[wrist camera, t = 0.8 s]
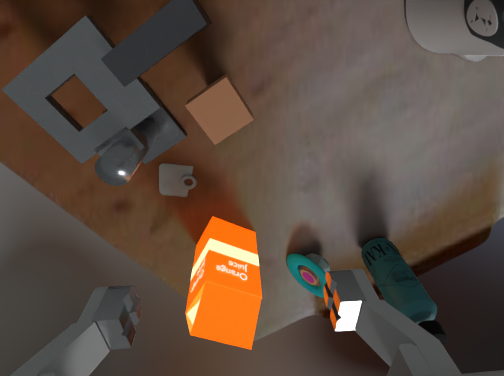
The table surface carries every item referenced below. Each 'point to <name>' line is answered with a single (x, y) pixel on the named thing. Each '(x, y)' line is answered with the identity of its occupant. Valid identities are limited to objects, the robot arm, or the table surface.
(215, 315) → the orange juice
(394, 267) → the beverage bottle
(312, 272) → the ornament
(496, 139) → the table surface
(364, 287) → the robot arm
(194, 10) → the grey windowed jig
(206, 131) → the brown block
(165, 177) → the mounting bracket
